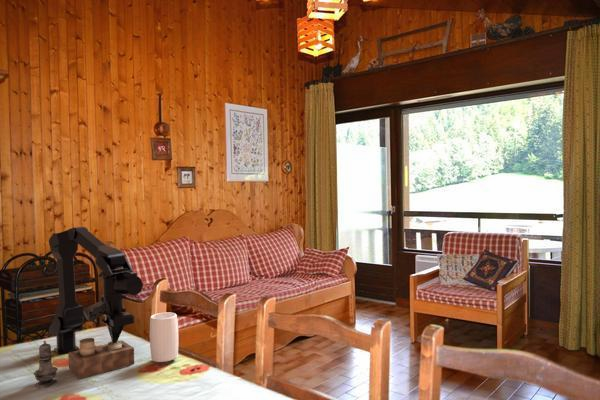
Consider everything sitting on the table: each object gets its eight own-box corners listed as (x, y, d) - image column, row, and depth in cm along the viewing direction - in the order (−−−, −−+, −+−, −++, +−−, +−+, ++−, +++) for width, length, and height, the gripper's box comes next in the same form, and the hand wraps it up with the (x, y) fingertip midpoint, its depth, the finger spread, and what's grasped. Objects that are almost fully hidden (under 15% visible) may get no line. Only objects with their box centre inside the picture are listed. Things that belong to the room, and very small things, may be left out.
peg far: (106, 357, 142) (105, 342, 142) (119, 354, 144) (119, 339, 144) (110, 360, 139) (110, 345, 139) (124, 357, 141) (123, 342, 141)
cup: (150, 367, 137) (149, 320, 137) (150, 358, 145) (148, 313, 145) (179, 363, 140) (178, 317, 140) (178, 354, 148) (176, 310, 148)
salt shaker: (47, 388, 124) (46, 344, 124) (28, 387, 125) (27, 343, 125) (62, 380, 130) (61, 337, 129) (44, 378, 131) (43, 336, 130)
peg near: (78, 355, 136) (77, 340, 136) (92, 352, 139) (91, 337, 139) (82, 359, 133) (81, 343, 133) (96, 355, 136) (96, 340, 136)
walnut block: (78, 379, 130) (77, 360, 130) (68, 369, 137) (68, 351, 137) (134, 364, 140) (133, 347, 140) (122, 355, 148) (122, 339, 148)
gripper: (76, 291, 143) (77, 341, 143) (95, 301, 129) (96, 357, 129) (112, 286, 150) (114, 333, 150) (134, 295, 136) (136, 347, 136)
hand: (114, 342), depth 141 cm, fingers closed, pressing on peg far
